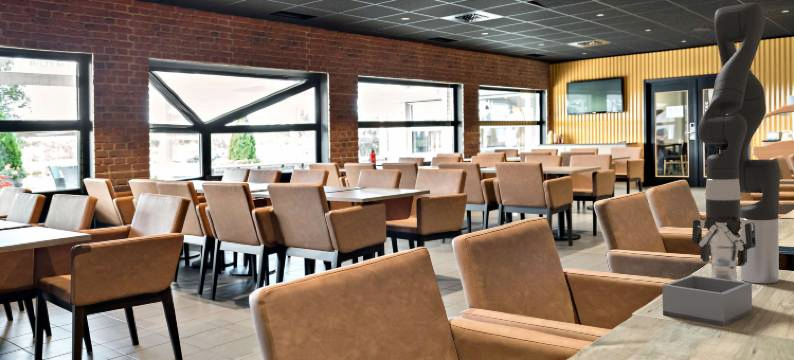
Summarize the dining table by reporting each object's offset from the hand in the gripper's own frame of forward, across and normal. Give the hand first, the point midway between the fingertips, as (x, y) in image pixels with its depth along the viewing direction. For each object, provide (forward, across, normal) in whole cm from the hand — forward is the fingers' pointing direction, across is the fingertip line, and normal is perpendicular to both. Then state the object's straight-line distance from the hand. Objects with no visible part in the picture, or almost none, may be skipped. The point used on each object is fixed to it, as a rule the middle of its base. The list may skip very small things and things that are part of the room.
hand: (723, 263), depth 164 cm
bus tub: (+10, -2, +13) cm, 16 cm away
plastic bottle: (+10, 0, 0) cm, 10 cm away
